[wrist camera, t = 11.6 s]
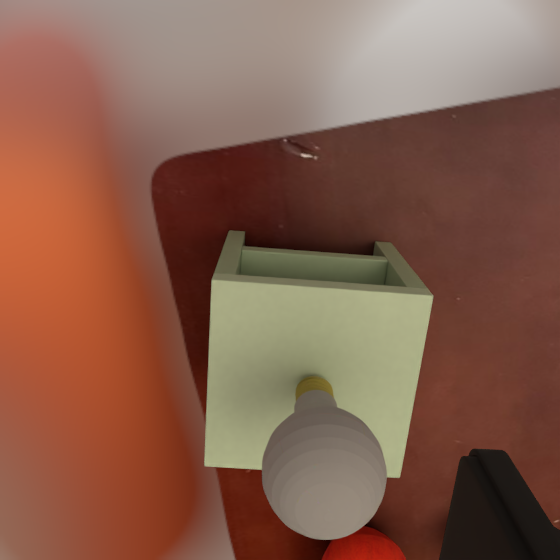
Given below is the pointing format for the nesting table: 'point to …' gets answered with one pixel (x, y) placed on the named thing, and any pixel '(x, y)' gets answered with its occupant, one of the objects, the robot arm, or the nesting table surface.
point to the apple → (363, 547)
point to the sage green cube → (311, 344)
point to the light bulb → (323, 466)
